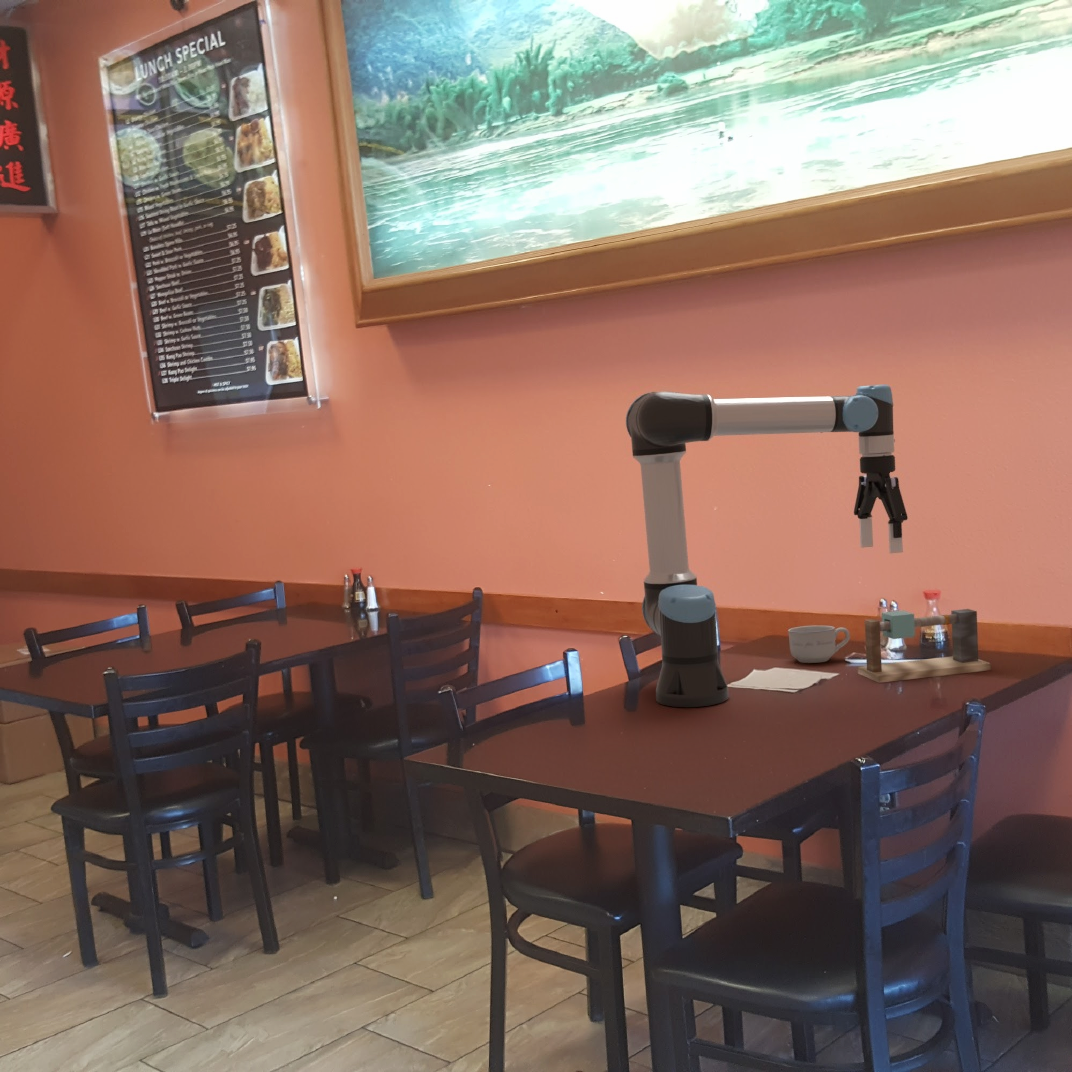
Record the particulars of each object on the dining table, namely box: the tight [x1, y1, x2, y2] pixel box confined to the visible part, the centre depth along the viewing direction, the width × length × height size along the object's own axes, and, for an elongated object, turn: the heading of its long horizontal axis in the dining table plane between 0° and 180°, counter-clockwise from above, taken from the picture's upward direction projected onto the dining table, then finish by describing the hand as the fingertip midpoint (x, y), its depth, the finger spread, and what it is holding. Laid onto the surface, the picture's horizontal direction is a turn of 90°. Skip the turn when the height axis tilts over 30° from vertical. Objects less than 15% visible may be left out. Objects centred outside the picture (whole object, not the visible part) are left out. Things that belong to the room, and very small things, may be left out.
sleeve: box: [881, 610, 916, 640], centre depth 260 cm, size 5×5×5 cm
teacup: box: [787, 625, 851, 664], centre depth 279 cm, size 14×11×8 cm
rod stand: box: [857, 608, 992, 683], centre depth 261 cm, size 26×10×12 cm, turn 100°
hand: (881, 549), depth 268 cm, fingers open, 13 cm apart
